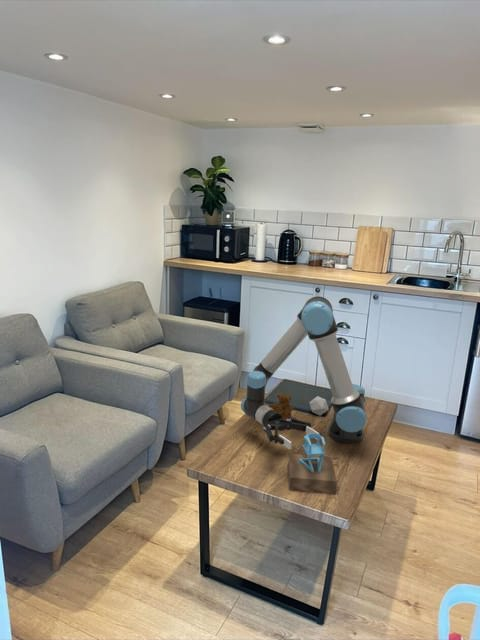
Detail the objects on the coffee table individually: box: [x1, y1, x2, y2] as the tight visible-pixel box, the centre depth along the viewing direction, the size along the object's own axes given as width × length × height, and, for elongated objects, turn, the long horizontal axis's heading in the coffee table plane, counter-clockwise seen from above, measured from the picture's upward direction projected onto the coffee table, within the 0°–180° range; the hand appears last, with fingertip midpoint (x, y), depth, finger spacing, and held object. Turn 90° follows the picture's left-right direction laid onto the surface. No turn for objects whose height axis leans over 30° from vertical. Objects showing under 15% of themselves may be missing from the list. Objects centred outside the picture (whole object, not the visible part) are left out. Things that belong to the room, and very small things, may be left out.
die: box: [308, 395, 329, 417], centre depth 223 cm, size 8×9×10 cm
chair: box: [299, 433, 327, 473], centre depth 168 cm, size 8×8×12 cm
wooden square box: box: [287, 453, 338, 495], centre depth 169 cm, size 16×16×5 cm
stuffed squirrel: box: [267, 392, 297, 425], centre depth 212 cm, size 10×14×13 cm
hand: (305, 441), depth 170 cm, fingers open, 13 cm apart
